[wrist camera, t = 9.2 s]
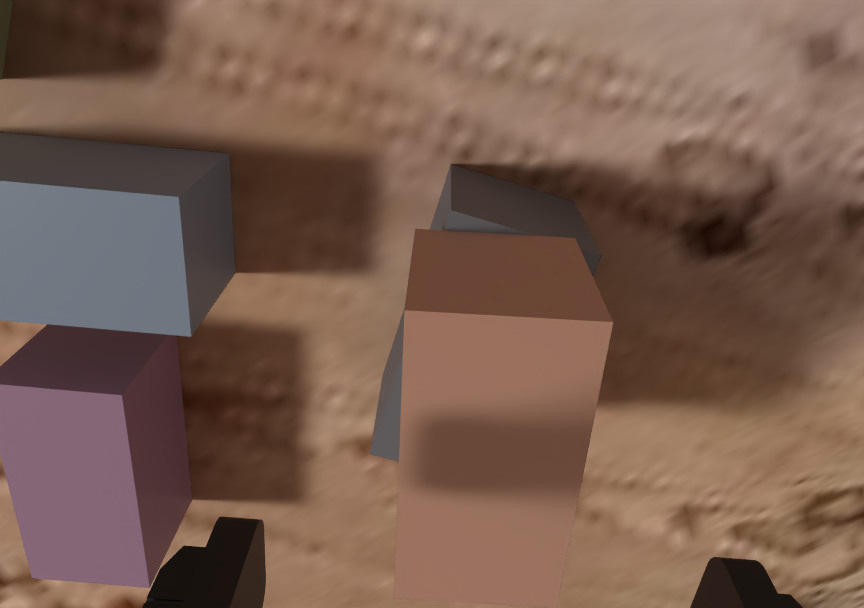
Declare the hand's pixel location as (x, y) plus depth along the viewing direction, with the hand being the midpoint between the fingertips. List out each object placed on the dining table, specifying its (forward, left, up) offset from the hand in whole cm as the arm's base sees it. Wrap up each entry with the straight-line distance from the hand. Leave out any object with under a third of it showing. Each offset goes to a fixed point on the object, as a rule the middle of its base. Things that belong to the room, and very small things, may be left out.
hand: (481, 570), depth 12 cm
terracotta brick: (0, 0, -7) cm, 7 cm away
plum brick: (+6, -12, -12) cm, 18 cm away
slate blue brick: (-2, -12, -12) cm, 17 cm away
